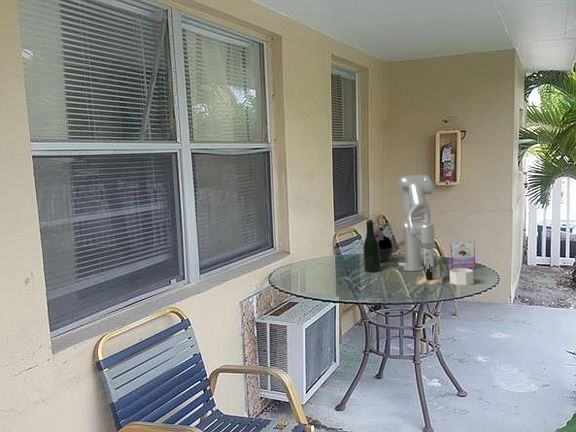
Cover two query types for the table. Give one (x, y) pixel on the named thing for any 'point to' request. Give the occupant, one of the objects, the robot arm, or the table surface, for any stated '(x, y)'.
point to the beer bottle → (371, 250)
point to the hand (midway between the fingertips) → (429, 277)
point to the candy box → (463, 255)
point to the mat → (431, 285)
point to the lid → (429, 280)
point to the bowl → (461, 276)
